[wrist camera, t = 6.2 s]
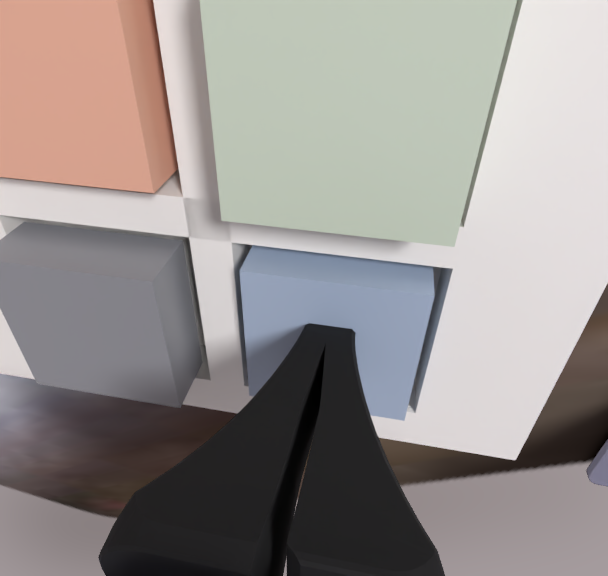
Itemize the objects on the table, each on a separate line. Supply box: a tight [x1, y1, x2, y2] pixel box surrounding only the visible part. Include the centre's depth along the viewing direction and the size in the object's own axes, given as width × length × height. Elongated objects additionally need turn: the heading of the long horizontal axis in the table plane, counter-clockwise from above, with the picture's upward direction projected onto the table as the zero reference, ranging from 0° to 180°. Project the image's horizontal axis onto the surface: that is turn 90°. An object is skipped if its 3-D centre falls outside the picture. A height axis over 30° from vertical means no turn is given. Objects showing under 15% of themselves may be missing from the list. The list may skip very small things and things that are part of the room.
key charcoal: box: [0, 222, 203, 408], centre depth 14 cm, size 5×5×2 cm
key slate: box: [240, 245, 435, 421], centre depth 14 cm, size 5×5×2 cm
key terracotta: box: [0, 0, 178, 193], centre depth 11 cm, size 5×5×2 cm
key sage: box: [199, 0, 517, 247], centre depth 9 cm, size 5×5×2 cm
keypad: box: [0, 0, 608, 460], centre depth 13 cm, size 20×16×3 cm
